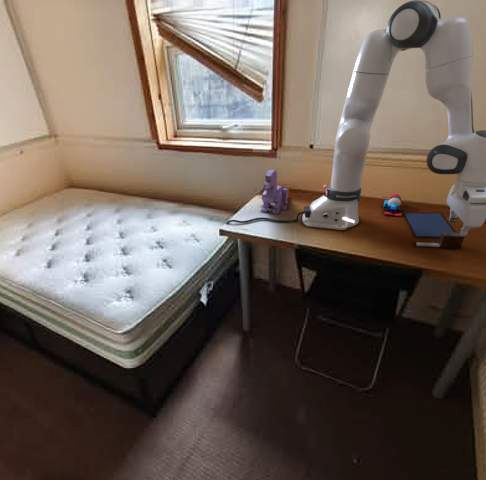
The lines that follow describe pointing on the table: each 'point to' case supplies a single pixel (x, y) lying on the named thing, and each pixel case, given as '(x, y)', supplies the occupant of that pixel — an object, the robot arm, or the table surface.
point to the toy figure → (393, 205)
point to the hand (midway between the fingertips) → (457, 227)
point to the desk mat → (428, 224)
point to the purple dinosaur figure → (274, 193)
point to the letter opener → (446, 241)
